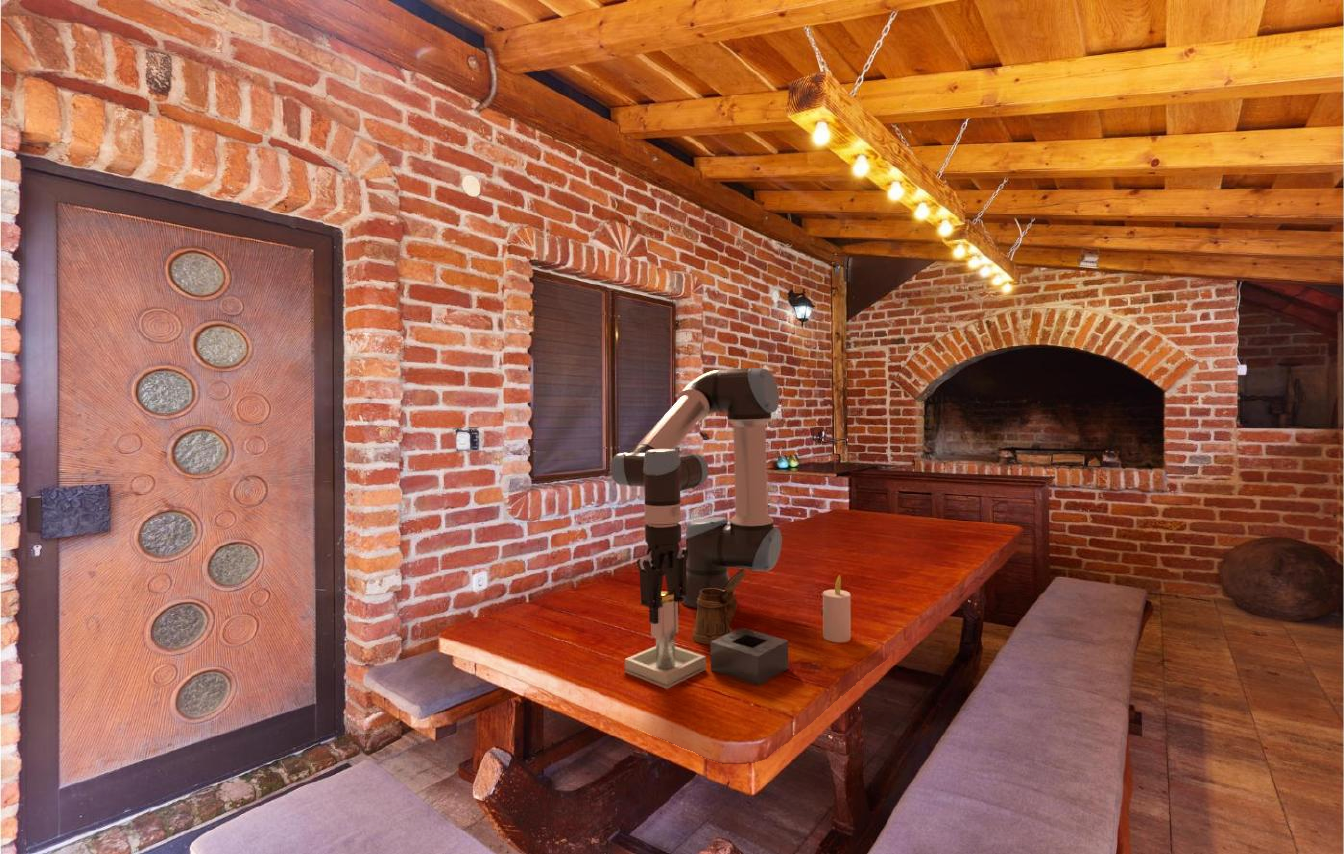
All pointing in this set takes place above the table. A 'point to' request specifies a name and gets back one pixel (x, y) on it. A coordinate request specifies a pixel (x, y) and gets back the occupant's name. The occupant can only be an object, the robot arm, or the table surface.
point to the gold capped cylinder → (666, 634)
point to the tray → (647, 670)
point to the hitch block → (749, 656)
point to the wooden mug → (716, 611)
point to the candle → (836, 614)
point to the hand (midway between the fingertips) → (664, 634)
